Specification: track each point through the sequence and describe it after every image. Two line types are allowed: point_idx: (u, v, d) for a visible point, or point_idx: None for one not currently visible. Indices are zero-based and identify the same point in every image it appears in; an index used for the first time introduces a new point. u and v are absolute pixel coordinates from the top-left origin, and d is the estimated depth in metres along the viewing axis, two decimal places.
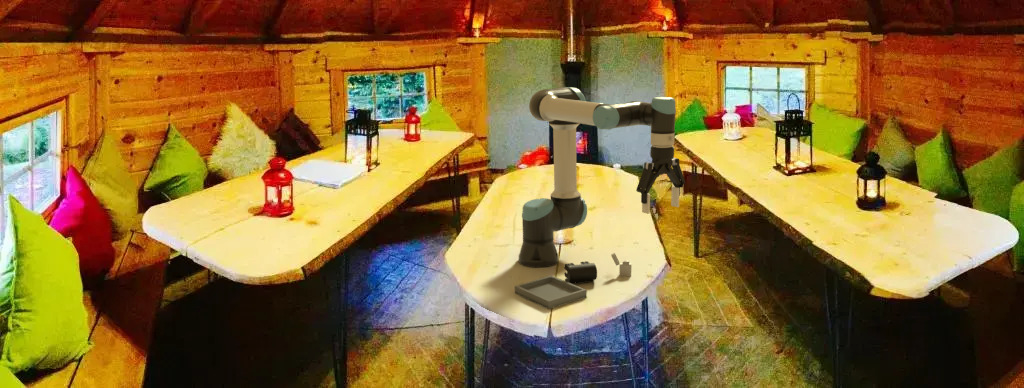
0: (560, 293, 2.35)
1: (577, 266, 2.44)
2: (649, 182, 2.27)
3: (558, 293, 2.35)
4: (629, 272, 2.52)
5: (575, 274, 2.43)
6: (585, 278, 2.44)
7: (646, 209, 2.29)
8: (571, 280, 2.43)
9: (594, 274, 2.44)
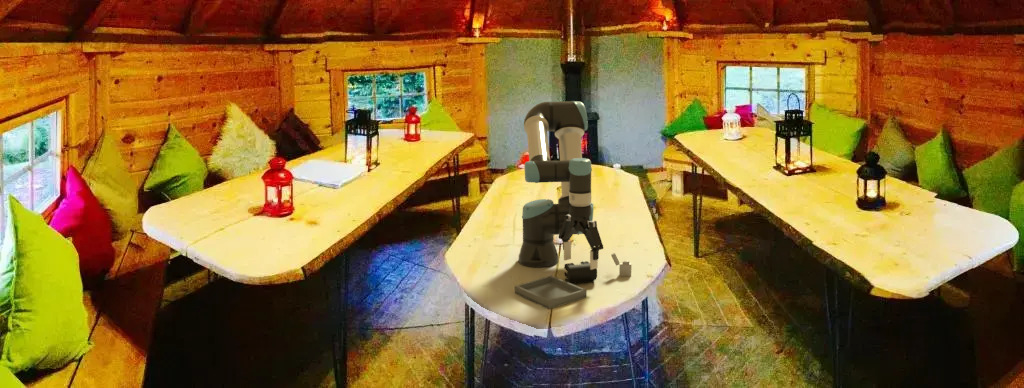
0: (560, 293, 2.35)
1: (577, 266, 2.44)
2: None
3: (558, 293, 2.35)
4: (629, 272, 2.52)
5: (575, 274, 2.43)
6: (585, 278, 2.44)
7: None
8: (571, 280, 2.43)
9: (594, 274, 2.44)
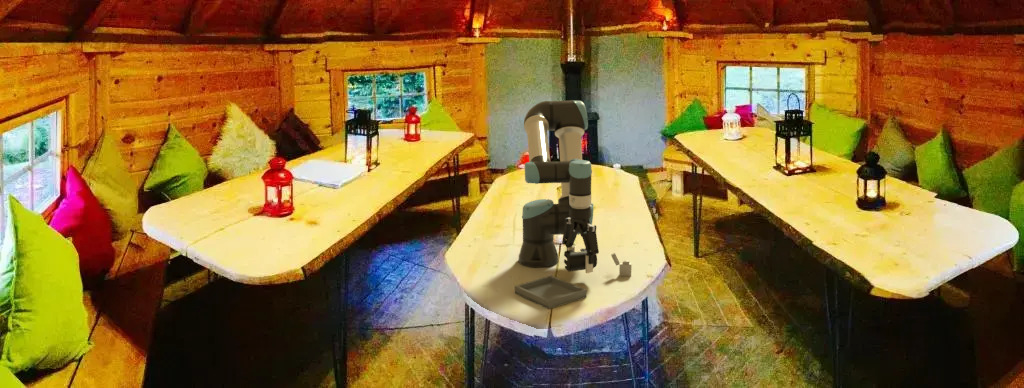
0: (560, 293, 2.35)
1: (577, 253, 2.44)
2: None
3: (558, 293, 2.35)
4: (629, 272, 2.52)
5: (575, 261, 2.42)
6: (585, 265, 2.44)
7: None
8: (571, 267, 2.42)
9: (594, 261, 2.44)
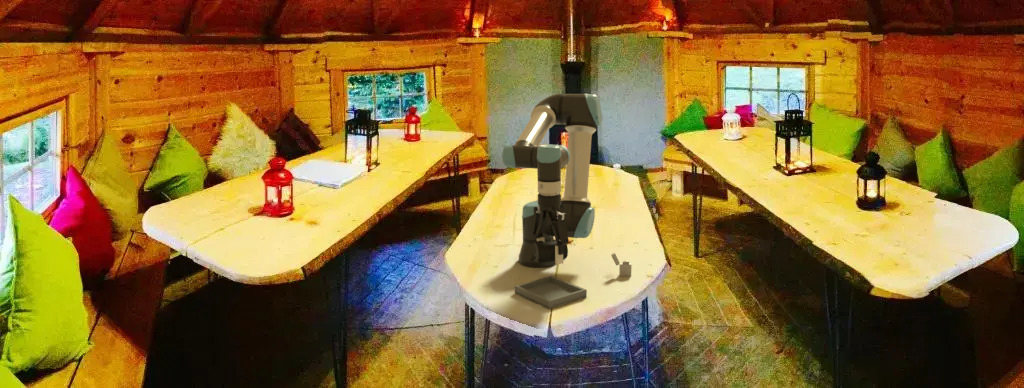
0: (560, 293, 2.35)
1: (546, 244, 2.30)
2: None
3: (558, 293, 2.35)
4: (629, 272, 2.52)
5: (544, 252, 2.28)
6: None
7: None
8: (540, 258, 2.29)
9: (565, 252, 2.30)
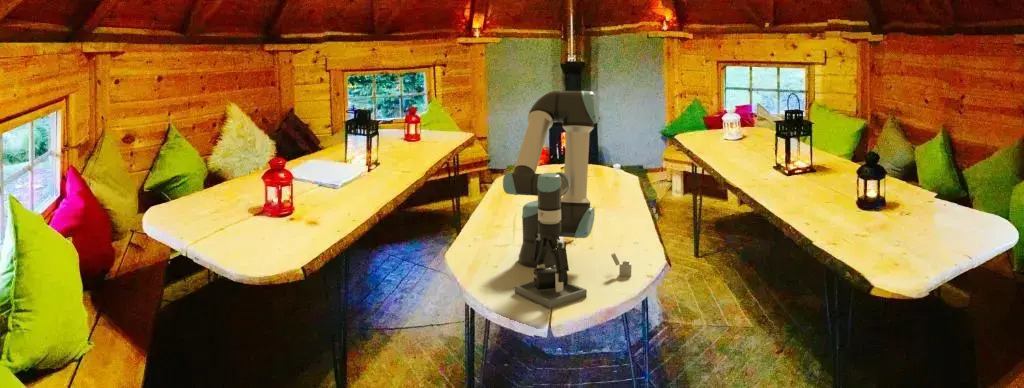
0: (560, 293, 2.35)
1: (547, 271, 2.32)
2: None
3: (558, 293, 2.35)
4: (629, 272, 2.52)
5: (545, 280, 2.30)
6: None
7: None
8: (540, 286, 2.31)
9: (565, 279, 2.32)
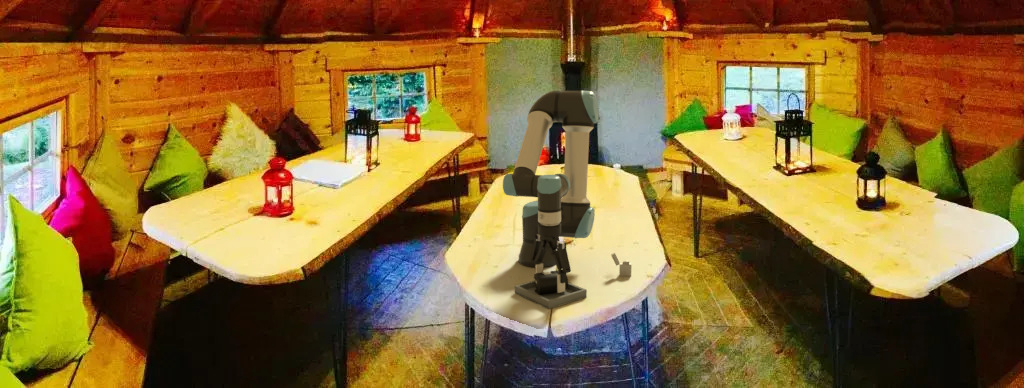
0: (560, 293, 2.35)
1: (547, 276, 2.33)
2: None
3: (558, 293, 2.35)
4: (629, 272, 2.52)
5: (545, 285, 2.31)
6: (556, 288, 2.33)
7: None
8: (541, 291, 2.31)
9: (565, 284, 2.33)
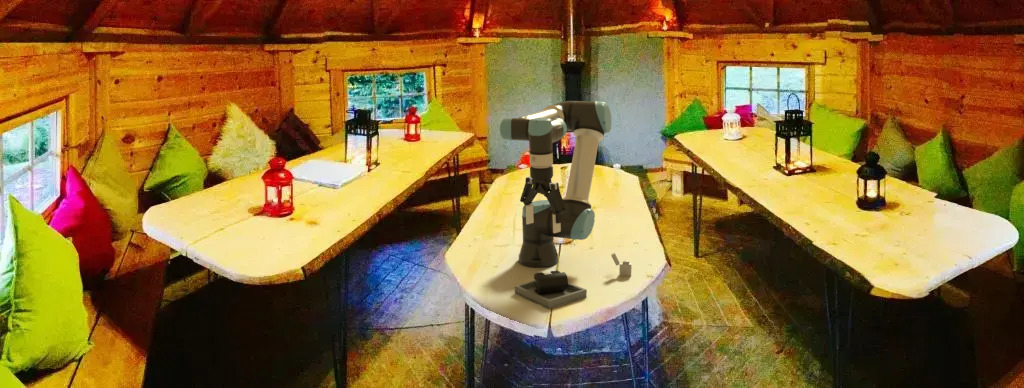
0: (560, 293, 2.35)
1: (547, 276, 2.33)
2: None
3: (558, 293, 2.35)
4: (629, 272, 2.52)
5: (545, 285, 2.31)
6: (556, 288, 2.33)
7: None
8: (541, 291, 2.31)
9: (565, 284, 2.33)
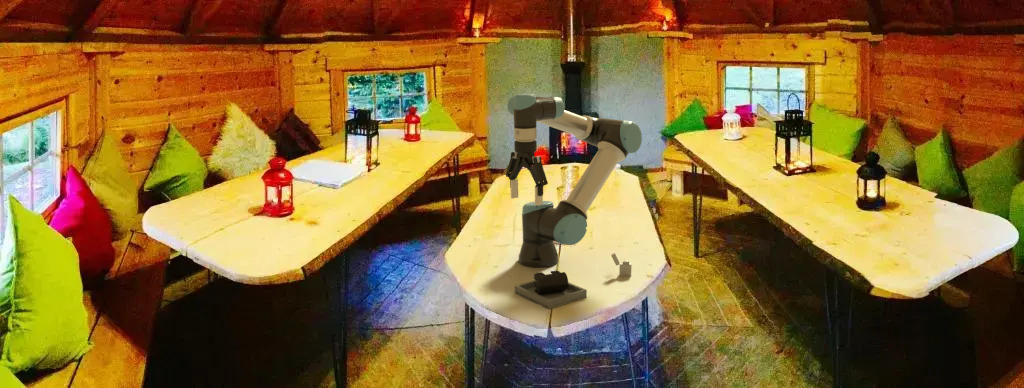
0: (560, 293, 2.35)
1: (547, 276, 2.33)
2: None
3: (558, 293, 2.35)
4: (629, 272, 2.52)
5: (545, 285, 2.31)
6: (556, 288, 2.33)
7: None
8: (541, 291, 2.31)
9: (565, 284, 2.33)
